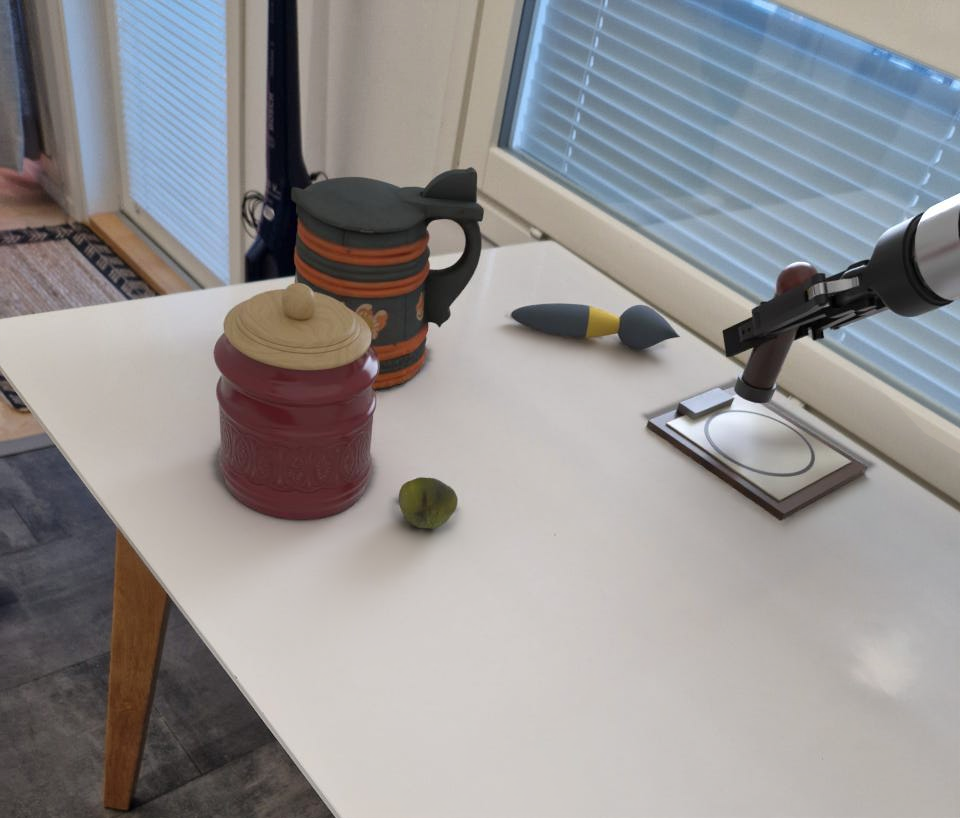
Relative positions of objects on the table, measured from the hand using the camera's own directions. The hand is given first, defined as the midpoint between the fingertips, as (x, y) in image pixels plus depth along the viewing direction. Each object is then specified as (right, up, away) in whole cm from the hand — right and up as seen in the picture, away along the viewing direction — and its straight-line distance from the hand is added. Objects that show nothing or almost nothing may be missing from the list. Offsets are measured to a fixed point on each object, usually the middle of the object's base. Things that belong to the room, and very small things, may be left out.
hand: (742, 342), depth 93 cm
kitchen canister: (-44, -17, -13) cm, 48 cm away
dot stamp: (+1, -5, 0) cm, 5 cm away
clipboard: (+2, -11, +3) cm, 11 cm away
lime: (-32, -21, -15) cm, 41 cm away
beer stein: (-39, -1, +4) cm, 39 cm away
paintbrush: (-14, +5, +14) cm, 20 cm away
